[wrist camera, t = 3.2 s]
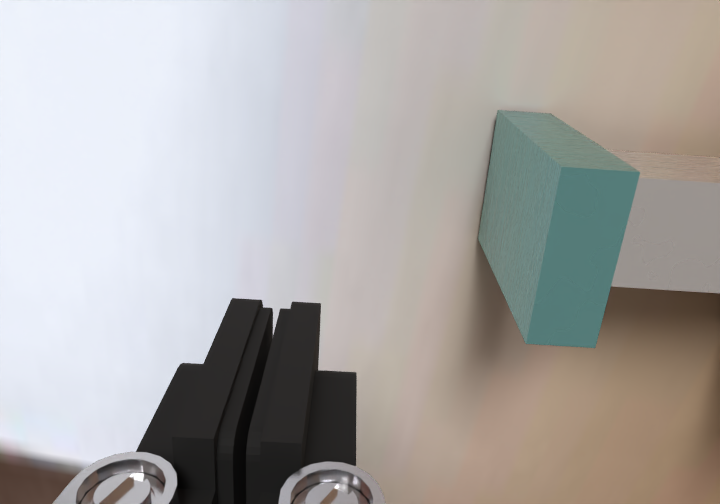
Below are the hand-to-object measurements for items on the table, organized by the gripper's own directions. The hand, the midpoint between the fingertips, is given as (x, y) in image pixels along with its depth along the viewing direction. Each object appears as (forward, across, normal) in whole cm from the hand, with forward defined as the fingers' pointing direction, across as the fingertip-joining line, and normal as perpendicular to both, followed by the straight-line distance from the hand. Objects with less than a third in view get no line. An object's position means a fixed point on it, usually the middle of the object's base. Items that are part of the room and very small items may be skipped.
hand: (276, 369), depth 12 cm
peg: (+13, -14, -1) cm, 19 cm away
